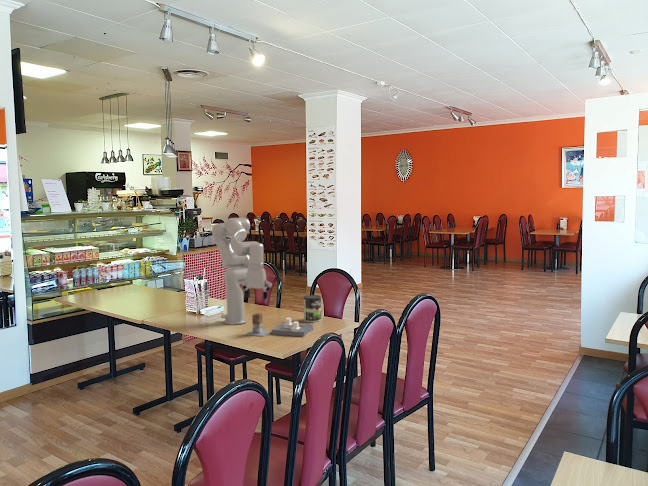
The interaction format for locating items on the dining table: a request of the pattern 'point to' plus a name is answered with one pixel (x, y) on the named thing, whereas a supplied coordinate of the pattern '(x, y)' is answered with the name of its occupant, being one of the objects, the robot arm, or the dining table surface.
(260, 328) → the brown grey cylinder
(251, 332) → the mat
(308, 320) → the coffee can
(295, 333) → the switch panel
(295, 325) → the tab
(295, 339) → the dining table surface
